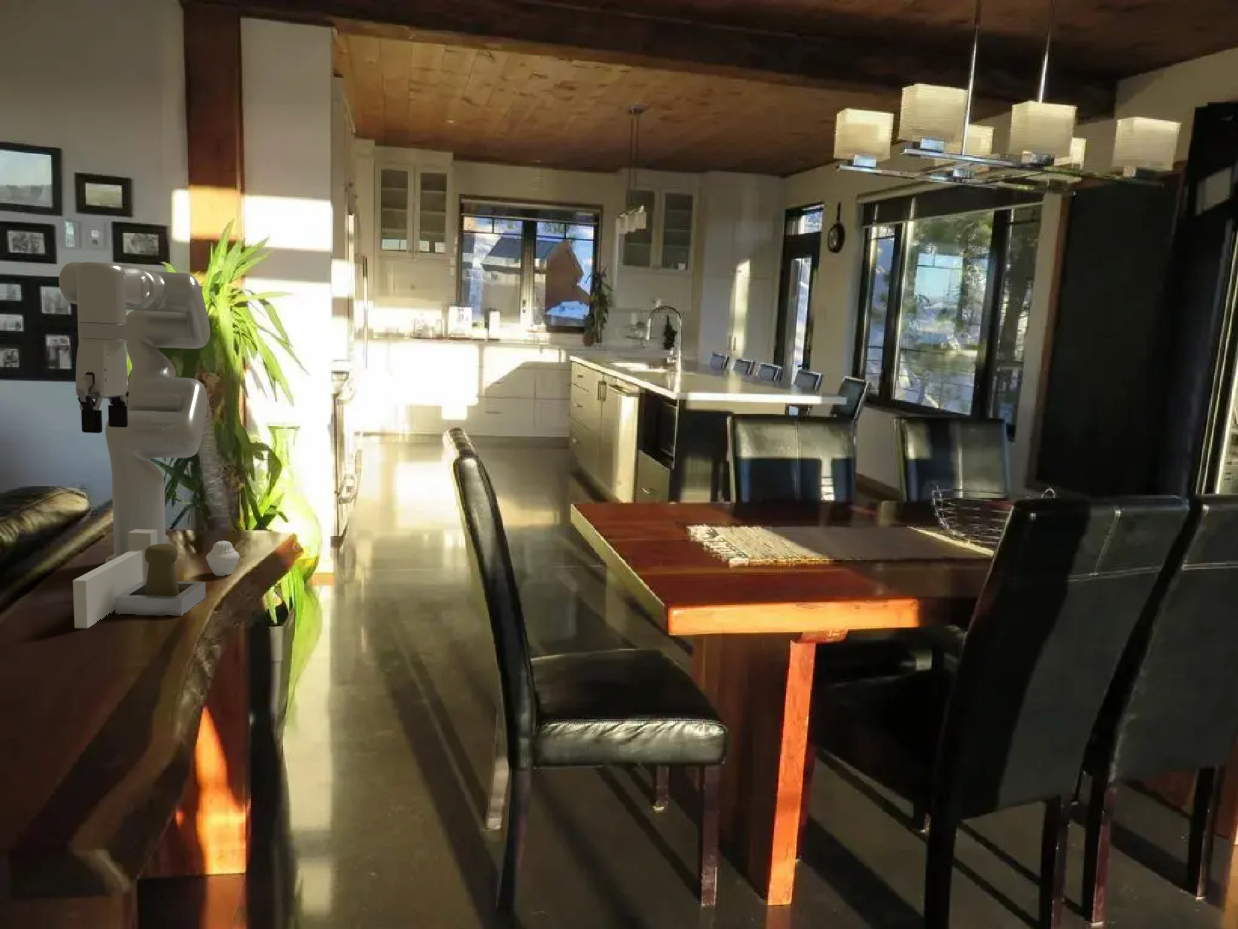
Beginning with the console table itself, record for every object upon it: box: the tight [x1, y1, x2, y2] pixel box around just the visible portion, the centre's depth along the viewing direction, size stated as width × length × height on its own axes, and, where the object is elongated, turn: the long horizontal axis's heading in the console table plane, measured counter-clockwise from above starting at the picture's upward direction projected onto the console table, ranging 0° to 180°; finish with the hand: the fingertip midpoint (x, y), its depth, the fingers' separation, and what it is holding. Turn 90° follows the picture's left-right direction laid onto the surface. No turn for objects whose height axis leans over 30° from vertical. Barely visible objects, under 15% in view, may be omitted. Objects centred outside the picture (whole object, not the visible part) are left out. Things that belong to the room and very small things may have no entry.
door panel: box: [72, 529, 158, 629], centre depth 159 cm, size 25×4×11 cm, turn 5°
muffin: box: [205, 540, 240, 577], centre depth 183 cm, size 6×6×7 cm
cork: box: [145, 543, 180, 596], centre depth 161 cm, size 6×6×11 cm
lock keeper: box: [114, 580, 206, 617], centre depth 161 cm, size 11×11×3 cm
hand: (105, 429), depth 163 cm, fingers open, 9 cm apart
